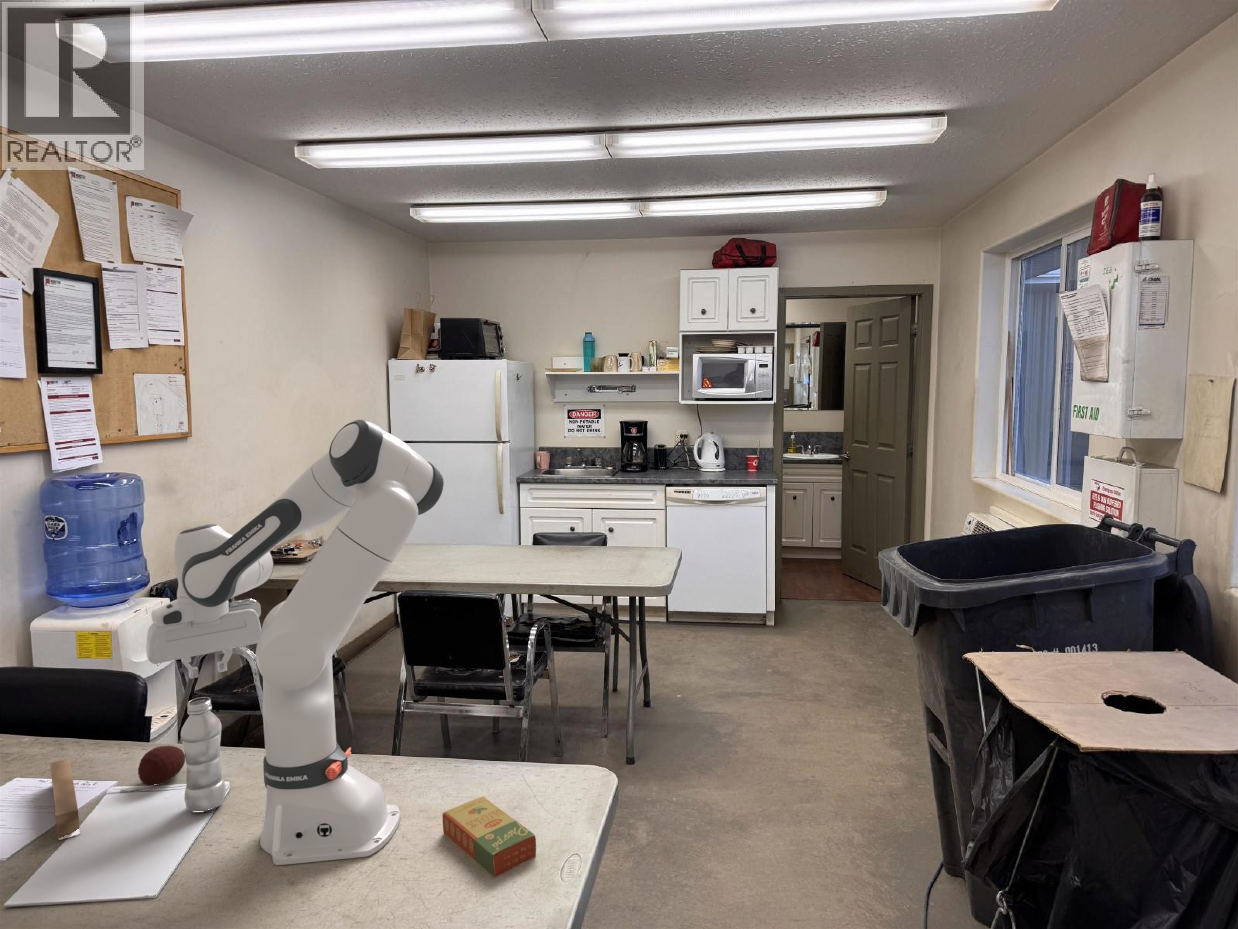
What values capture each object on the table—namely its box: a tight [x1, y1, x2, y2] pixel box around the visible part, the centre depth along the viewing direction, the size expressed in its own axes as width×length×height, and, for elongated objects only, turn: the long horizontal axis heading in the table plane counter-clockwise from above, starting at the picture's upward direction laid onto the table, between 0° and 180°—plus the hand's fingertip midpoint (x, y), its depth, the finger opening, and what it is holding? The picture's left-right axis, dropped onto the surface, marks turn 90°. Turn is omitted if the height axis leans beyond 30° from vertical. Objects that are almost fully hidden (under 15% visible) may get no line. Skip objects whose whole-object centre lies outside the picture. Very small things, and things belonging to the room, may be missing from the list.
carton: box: [442, 796, 537, 878], centre depth 124 cm, size 8×16×4 cm, turn 42°
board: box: [50, 758, 81, 839], centre depth 138 cm, size 3×24×4 cm, turn 39°
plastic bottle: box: [180, 696, 227, 812], centre depth 136 cm, size 6×7×20 cm
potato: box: [137, 745, 186, 786], centre depth 147 cm, size 7×8×7 cm
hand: (208, 674), depth 151 cm, fingers open, 4 cm apart
